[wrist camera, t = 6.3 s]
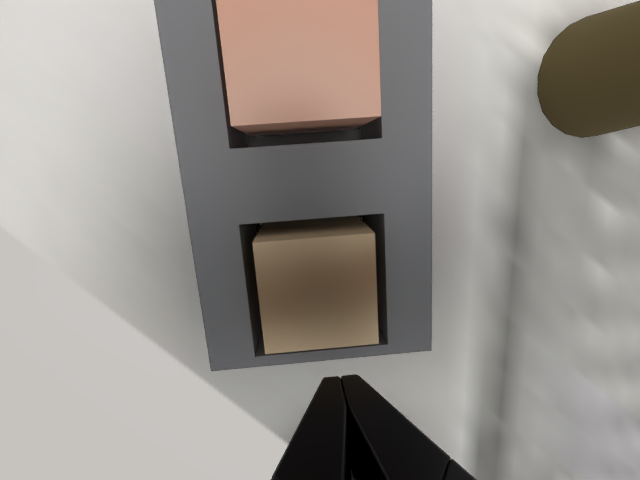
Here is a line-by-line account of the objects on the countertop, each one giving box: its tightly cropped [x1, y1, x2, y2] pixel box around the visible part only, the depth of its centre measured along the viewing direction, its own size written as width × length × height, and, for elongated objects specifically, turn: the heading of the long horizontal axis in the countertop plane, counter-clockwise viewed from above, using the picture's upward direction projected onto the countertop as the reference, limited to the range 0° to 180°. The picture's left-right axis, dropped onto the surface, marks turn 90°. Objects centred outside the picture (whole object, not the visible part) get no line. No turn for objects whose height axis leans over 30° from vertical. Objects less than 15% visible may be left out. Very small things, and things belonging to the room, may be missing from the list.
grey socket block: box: [154, 0, 432, 371], centre depth 17 cm, size 16×10×5 cm, turn 4°
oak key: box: [252, 215, 379, 354], centre depth 17 cm, size 5×5×6 cm
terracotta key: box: [216, 0, 381, 136], centre depth 14 cm, size 5×5×6 cm
